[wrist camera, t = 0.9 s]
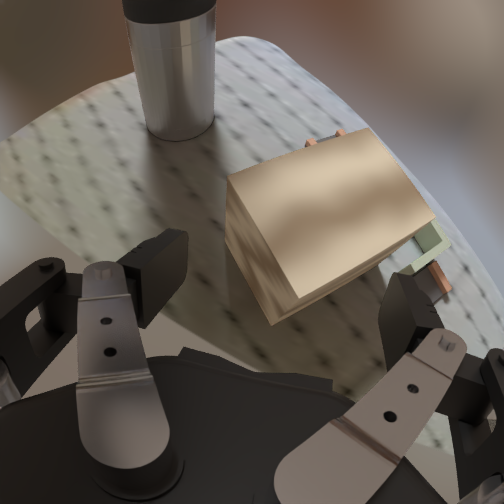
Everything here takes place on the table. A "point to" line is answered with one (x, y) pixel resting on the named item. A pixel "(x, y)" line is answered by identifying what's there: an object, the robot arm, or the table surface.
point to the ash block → (319, 219)
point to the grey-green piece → (432, 246)
